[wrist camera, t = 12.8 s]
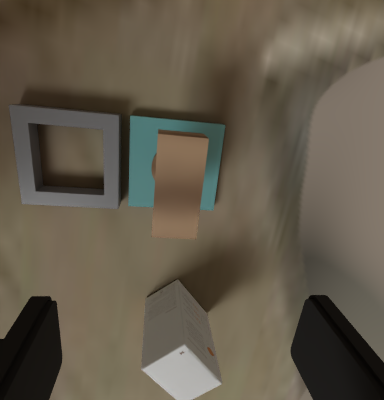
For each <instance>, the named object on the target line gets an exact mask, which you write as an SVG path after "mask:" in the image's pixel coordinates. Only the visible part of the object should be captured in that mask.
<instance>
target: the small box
mask: <svg viewBox="0 0 384 400" xmlns="http://www.w3.org/2000/svg"><path fill="white" fill-rule="evenodd" d="M141 370H143V371H144V372H145V373H146V374H147V375H148V376H150V377H151V378H152V379H153V380H154V381H155V382H156V383H158V384H159V385H160V386H161V387H162V388H163V389H164V390H166V391H167V392H168V393H169V394H170V395H171V396H172V397H174V398H175V399H176V400H192V399H194V398H196V397H198V396H200V395H202V394H204V393H206V392H207V391H209V390H211V389H213V388H215V387H217V386H219V385H221V384H222V379H221V374H220V370H219V365H218V361H217V356H216V351H215V347H214V342H213V338H212V333H211V329H210V324H209V320H208V315H207V313H206V312H205V311H204V309H203V308H202V307H201V306H200V305H199V303H198V302H197V301H196V300H195V299H194V298H193V296H192V295H191V294H190V293H189V292H188V291H187V289H186V288H185V287H184V286H183V285H182V284H181V282H180V281H179V280H178V279H177V280H176V281H174V282H172V283H171V284H169V285H167V286H166V287H164V288H162V289H161V290H159V291H157V292H156V293H154V294H153V295H151V296H149V297H148V298H146V299H145V314H144V330H143V347H142V365H141Z"/></svg>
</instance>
